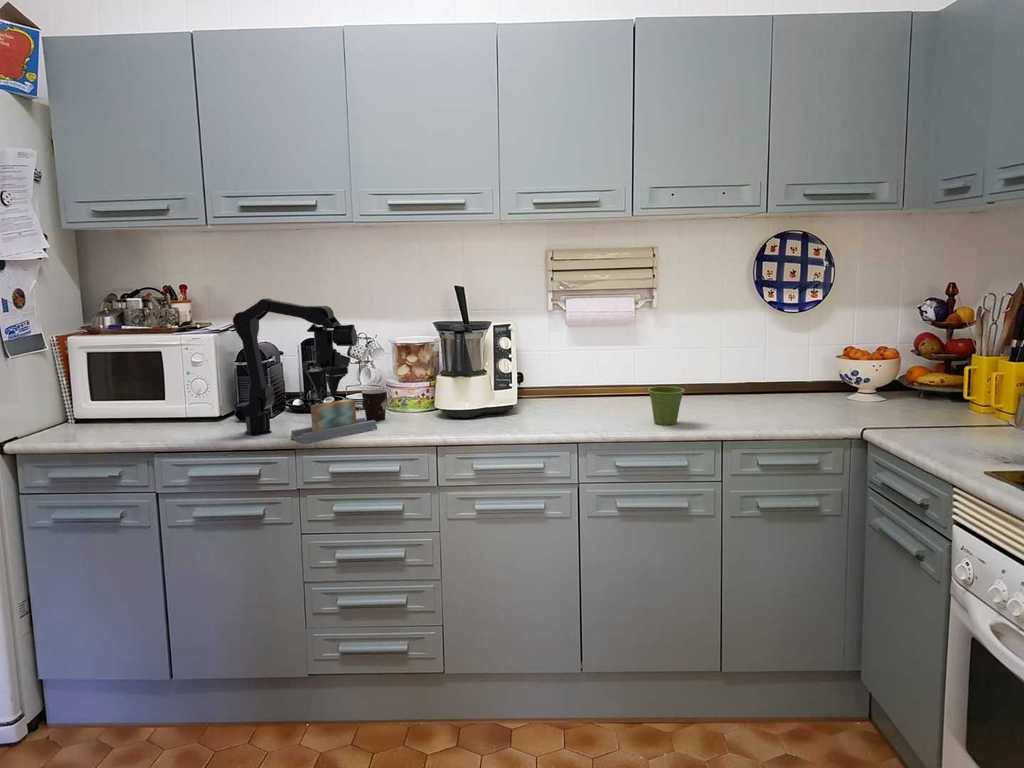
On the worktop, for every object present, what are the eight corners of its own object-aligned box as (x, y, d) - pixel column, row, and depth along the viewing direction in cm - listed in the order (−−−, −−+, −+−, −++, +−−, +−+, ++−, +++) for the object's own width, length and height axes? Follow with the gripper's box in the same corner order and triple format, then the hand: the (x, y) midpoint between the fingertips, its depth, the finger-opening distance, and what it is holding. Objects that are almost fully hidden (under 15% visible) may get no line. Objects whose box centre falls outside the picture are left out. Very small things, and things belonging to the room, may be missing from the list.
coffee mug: (379, 416, 275) (377, 388, 273) (393, 419, 269) (391, 391, 267) (350, 421, 267) (349, 392, 265) (365, 424, 261) (363, 395, 259)
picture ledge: (305, 443, 236) (304, 434, 235) (291, 439, 242) (290, 430, 242) (377, 429, 253) (376, 420, 253) (362, 425, 260) (361, 417, 259)
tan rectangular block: (318, 435, 242) (316, 406, 240) (312, 433, 244) (310, 405, 243) (356, 427, 251) (355, 400, 250) (350, 426, 254) (349, 399, 252)
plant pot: (650, 427, 247) (650, 392, 245) (645, 419, 259) (645, 386, 257) (687, 427, 246) (688, 392, 245) (680, 419, 258) (681, 386, 256)
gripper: (361, 346, 244) (363, 394, 246) (331, 341, 257) (333, 388, 260) (330, 349, 236) (332, 399, 239) (300, 344, 249) (303, 392, 252)
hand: (326, 394), depth 247 cm, fingers open, 9 cm apart
